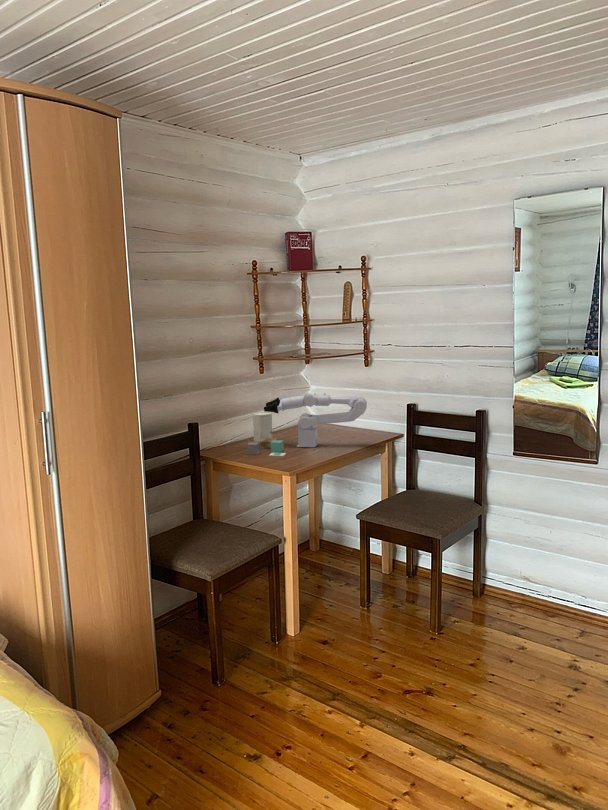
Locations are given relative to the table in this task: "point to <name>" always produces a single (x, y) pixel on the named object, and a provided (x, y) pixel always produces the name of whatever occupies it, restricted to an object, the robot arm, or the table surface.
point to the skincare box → (262, 426)
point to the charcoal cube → (253, 448)
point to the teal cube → (277, 446)
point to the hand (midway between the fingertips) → (265, 407)
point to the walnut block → (266, 443)
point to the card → (277, 454)
